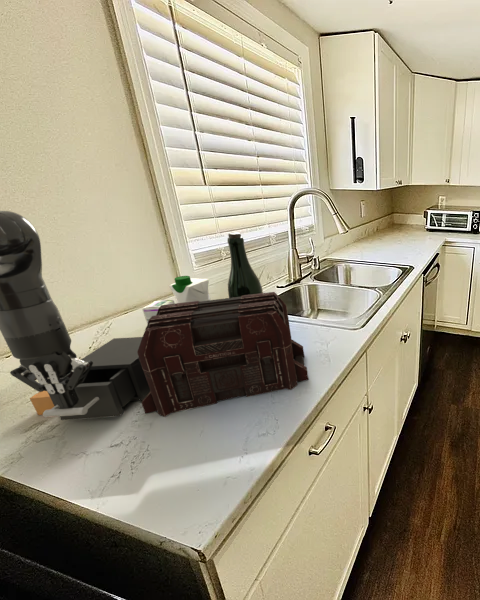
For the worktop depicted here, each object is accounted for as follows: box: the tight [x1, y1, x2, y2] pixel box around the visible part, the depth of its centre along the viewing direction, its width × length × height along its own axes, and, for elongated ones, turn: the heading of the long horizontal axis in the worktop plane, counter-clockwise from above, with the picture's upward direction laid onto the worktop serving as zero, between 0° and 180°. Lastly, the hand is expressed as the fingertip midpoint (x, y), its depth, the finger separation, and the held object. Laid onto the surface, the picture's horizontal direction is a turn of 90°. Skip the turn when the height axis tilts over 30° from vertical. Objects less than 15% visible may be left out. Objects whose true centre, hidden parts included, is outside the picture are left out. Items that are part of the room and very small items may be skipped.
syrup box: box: [142, 299, 176, 324], centre depth 97 cm, size 6×6×14 cm
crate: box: [137, 291, 309, 418], centre depth 79 cm, size 35×19×21 cm, turn 110°
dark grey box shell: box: [72, 336, 150, 402], centre depth 80 cm, size 14×13×10 cm
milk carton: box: [168, 275, 211, 303], centre depth 104 cm, size 9×9×20 cm
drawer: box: [42, 368, 137, 421], centre depth 71 cm, size 17×12×8 cm
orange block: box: [29, 391, 55, 416], centre depth 73 cm, size 4×4×4 cm
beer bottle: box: [227, 232, 264, 298], centre depth 102 cm, size 10×10×33 cm
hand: (70, 405), depth 64 cm, fingers closed
